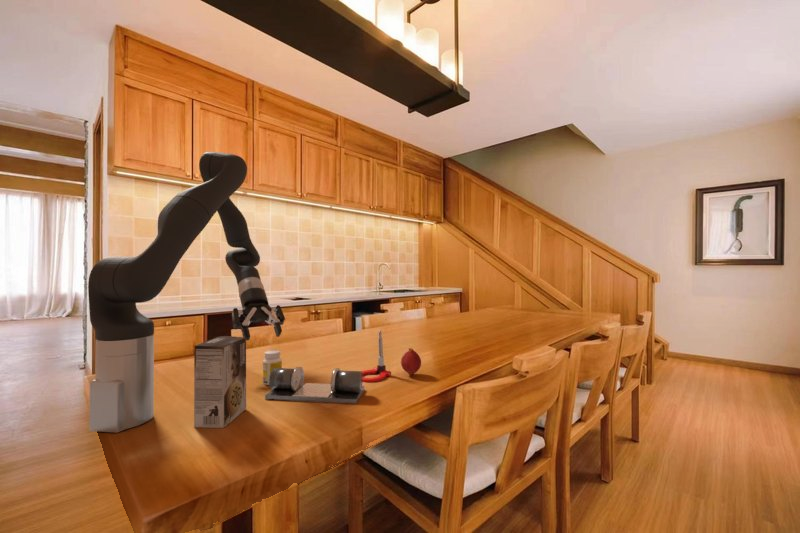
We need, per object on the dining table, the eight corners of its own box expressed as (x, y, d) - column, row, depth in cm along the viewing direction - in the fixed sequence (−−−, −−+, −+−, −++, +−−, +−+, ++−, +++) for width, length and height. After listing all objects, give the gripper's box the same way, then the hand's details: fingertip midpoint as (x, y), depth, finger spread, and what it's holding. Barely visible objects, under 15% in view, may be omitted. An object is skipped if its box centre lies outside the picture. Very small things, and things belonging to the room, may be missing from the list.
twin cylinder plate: (364, 389, 87) (364, 364, 87) (355, 403, 78) (356, 375, 78) (282, 386, 90) (282, 361, 90) (265, 399, 81) (265, 371, 81)
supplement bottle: (284, 380, 95) (284, 349, 95) (276, 385, 90) (277, 354, 90) (268, 379, 95) (268, 349, 95) (259, 385, 90) (259, 353, 90)
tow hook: (370, 386, 91) (393, 376, 98) (368, 338, 91) (392, 332, 98) (350, 379, 97) (373, 370, 104) (348, 334, 97) (372, 328, 104)
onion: (408, 370, 103) (408, 344, 104) (424, 374, 100) (424, 347, 100) (397, 375, 99) (397, 348, 99) (413, 379, 95) (413, 351, 95)
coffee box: (218, 408, 75) (219, 335, 75) (247, 409, 75) (247, 336, 75) (192, 428, 66) (192, 345, 66) (224, 428, 66) (225, 345, 66)
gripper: (230, 287, 101) (240, 332, 92) (278, 286, 110) (291, 326, 101) (225, 303, 105) (234, 348, 96) (272, 301, 114) (285, 341, 105)
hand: (264, 336), depth 98 cm, fingers open, 8 cm apart
